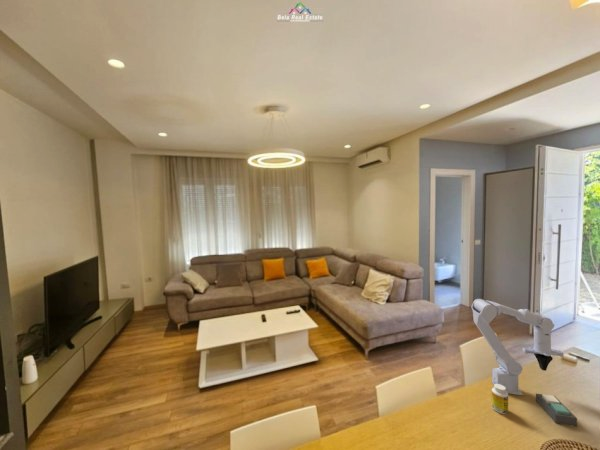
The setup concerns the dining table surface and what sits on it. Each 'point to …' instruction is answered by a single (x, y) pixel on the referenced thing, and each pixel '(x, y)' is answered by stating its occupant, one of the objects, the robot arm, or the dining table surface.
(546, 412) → the board
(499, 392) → the supplement bottle
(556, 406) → the key teal
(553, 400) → the key cream
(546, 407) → the bezel
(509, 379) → the robot arm
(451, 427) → the dining table surface
